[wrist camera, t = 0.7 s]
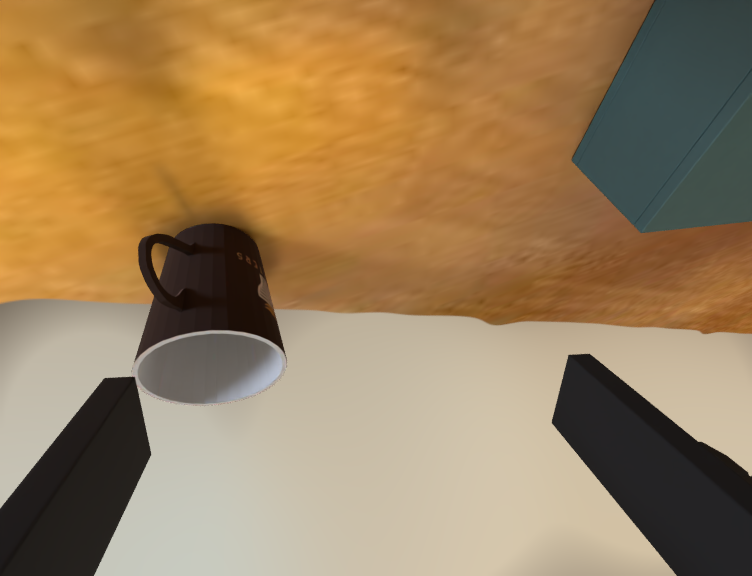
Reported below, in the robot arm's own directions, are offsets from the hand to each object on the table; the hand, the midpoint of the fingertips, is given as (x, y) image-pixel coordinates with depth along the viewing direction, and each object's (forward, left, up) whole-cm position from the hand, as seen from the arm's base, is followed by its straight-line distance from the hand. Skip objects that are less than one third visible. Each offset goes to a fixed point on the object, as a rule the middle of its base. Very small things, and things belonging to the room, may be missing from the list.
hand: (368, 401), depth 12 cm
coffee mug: (+9, -6, -19) cm, 22 cm away
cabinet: (-3, +27, -18) cm, 33 cm away
